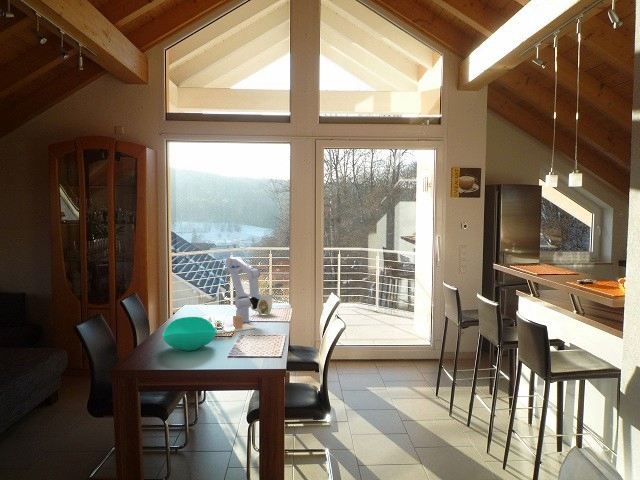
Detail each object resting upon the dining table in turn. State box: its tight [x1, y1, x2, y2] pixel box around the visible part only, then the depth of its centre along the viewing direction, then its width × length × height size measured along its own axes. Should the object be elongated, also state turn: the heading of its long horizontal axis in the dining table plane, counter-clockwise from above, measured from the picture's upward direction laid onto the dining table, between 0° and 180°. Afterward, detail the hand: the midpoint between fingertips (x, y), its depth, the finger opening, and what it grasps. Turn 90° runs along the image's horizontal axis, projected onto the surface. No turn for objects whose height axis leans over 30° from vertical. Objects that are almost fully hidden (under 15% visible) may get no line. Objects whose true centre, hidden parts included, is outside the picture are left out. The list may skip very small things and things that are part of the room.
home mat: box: [233, 323, 256, 333], centre depth 307 cm, size 14×18×1 cm
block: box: [232, 315, 243, 329], centre depth 307 cm, size 4×4×7 cm
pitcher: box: [250, 294, 276, 315], centre depth 348 cm, size 11×18×14 cm, turn 92°
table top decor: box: [162, 316, 217, 352], centre depth 263 cm, size 40×28×13 cm
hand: (254, 309), depth 316 cm, fingers closed
